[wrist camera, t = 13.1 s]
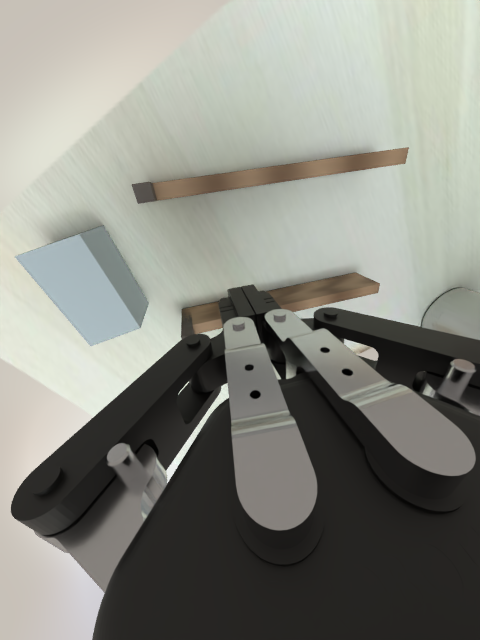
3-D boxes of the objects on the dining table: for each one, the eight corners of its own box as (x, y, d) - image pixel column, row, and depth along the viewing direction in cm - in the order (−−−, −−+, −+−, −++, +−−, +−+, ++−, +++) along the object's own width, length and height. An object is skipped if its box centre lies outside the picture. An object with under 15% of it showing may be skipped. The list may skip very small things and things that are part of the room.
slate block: (104, 225, 22) (79, 234, 17) (148, 302, 26) (140, 328, 21) (54, 242, 22) (14, 256, 16) (108, 316, 26) (90, 346, 21)
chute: (372, 155, 24) (428, 143, 18) (354, 280, 31) (390, 298, 26) (145, 187, 21) (131, 184, 15) (184, 317, 28) (184, 346, 23)
